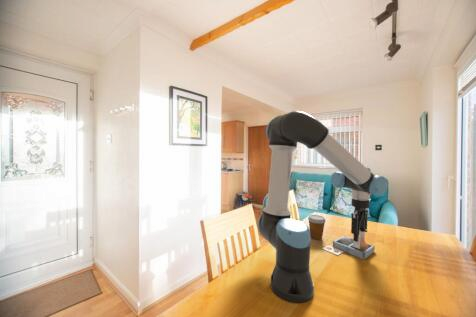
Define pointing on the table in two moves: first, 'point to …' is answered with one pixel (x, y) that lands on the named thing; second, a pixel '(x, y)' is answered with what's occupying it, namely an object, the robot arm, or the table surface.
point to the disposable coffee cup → (316, 226)
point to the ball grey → (346, 241)
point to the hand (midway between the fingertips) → (358, 245)
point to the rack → (353, 248)
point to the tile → (333, 250)
